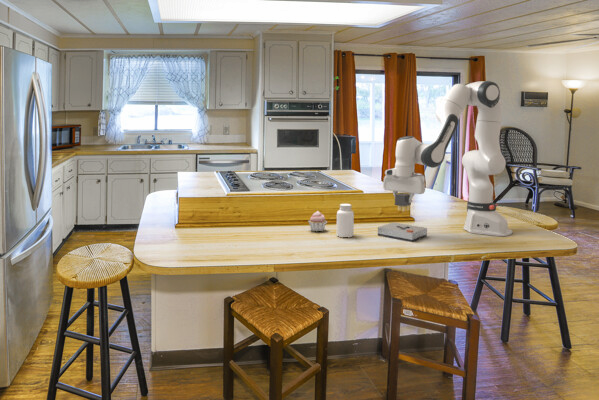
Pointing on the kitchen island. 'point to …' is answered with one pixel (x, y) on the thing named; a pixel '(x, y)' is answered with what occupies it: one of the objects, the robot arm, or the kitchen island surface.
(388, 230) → the socket
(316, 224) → the cupcake
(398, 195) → the plug
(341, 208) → the pill bottle
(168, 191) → the kitchen island surface
